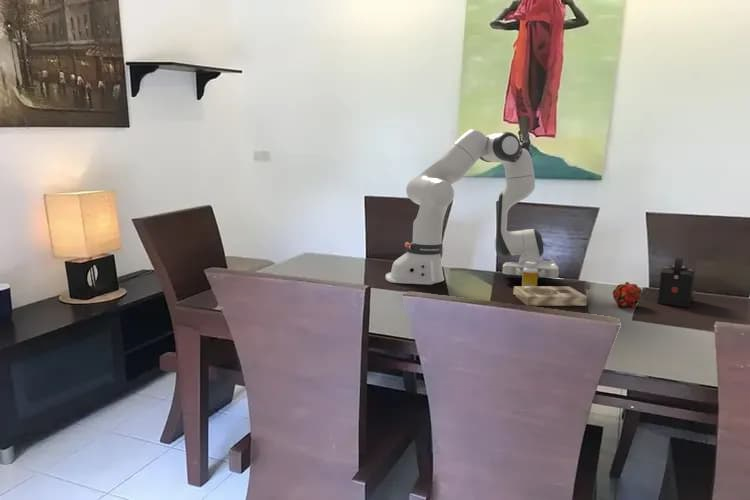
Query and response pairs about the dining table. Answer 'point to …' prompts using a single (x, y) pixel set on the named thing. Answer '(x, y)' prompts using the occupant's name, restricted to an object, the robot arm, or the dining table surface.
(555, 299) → the holder block
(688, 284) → the camera
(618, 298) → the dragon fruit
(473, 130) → the robot arm
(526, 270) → the supplement bottle
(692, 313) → the dining table surface
